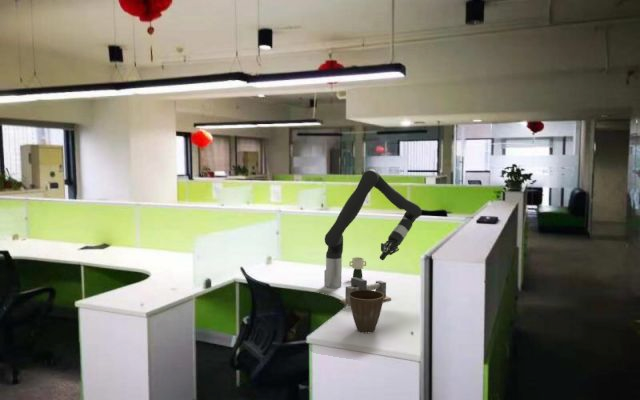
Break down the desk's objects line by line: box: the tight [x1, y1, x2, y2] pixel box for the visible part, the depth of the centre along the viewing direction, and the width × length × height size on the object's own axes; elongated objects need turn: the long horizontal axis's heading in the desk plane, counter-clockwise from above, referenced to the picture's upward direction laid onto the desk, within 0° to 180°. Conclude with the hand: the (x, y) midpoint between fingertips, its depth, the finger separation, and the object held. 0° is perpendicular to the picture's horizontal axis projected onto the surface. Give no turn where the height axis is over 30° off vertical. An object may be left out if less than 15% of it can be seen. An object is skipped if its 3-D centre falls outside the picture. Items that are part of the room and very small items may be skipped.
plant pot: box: [349, 290, 384, 334], centre depth 208 cm, size 15×15×16 cm
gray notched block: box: [350, 277, 368, 290], centre depth 249 cm, size 3×9×9 cm, turn 36°
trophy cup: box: [349, 256, 367, 279], centre depth 302 cm, size 11×7×13 cm, turn 99°
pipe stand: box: [340, 280, 392, 307], centre depth 253 cm, size 25×12×9 cm, turn 126°
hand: (381, 259), depth 257 cm, fingers closed
